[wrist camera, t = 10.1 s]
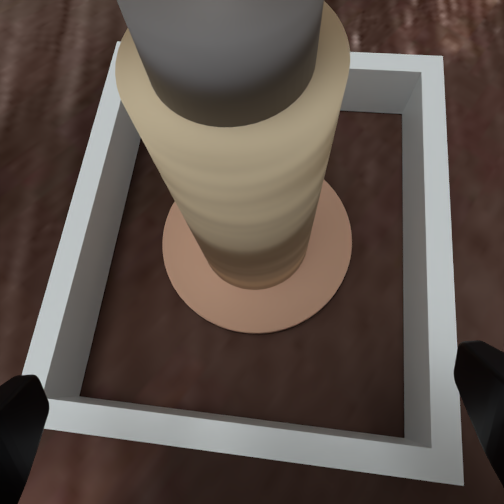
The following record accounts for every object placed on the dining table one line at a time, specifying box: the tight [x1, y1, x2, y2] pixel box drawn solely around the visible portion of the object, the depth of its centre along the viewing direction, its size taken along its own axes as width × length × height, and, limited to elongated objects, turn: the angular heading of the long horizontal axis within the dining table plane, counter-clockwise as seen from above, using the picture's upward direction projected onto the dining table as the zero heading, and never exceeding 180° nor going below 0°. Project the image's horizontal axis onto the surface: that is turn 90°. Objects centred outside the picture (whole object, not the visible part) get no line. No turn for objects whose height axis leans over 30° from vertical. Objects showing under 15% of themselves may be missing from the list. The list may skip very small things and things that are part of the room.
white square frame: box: [22, 42, 464, 486], centre depth 18 cm, size 18×16×3 cm
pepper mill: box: [115, 0, 350, 290], centre depth 13 cm, size 5×5×13 cm
